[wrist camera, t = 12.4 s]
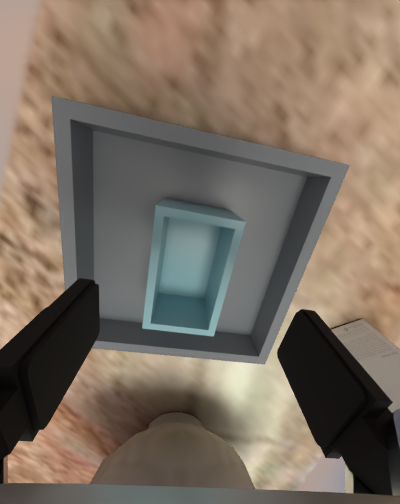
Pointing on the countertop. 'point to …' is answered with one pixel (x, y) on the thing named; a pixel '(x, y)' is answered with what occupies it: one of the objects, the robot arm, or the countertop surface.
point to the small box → (374, 356)
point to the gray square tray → (194, 191)
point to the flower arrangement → (175, 458)
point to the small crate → (190, 266)
